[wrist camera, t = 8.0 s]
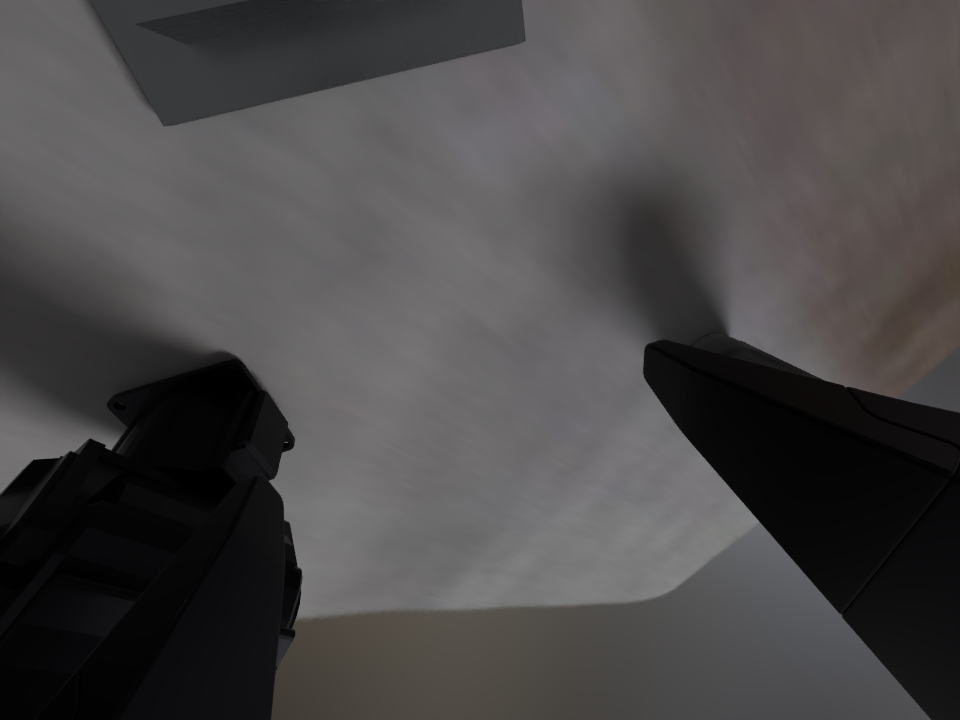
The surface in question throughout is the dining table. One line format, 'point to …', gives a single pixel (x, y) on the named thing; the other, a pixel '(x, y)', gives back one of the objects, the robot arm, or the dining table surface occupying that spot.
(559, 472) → the dining table surface
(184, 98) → the base
